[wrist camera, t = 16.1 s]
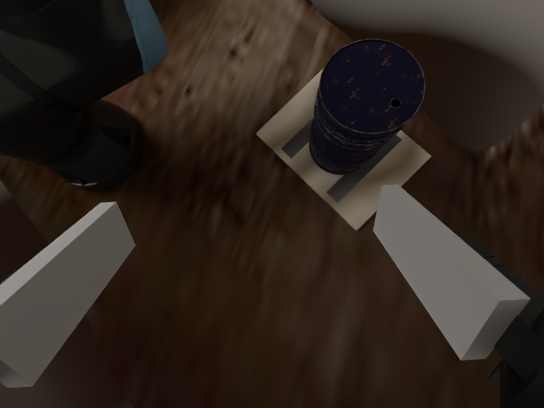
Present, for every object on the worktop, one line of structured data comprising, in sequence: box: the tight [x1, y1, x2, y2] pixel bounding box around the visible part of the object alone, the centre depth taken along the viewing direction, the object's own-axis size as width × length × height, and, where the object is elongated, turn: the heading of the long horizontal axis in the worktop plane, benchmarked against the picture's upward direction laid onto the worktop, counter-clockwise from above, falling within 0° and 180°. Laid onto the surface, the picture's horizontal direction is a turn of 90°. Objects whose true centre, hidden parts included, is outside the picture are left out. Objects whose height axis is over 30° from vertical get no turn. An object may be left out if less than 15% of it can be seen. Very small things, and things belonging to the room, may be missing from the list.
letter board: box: [256, 69, 431, 231], centre depth 37 cm, size 22×16×1 cm
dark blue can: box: [309, 39, 425, 175], centre depth 29 cm, size 10×10×15 cm
